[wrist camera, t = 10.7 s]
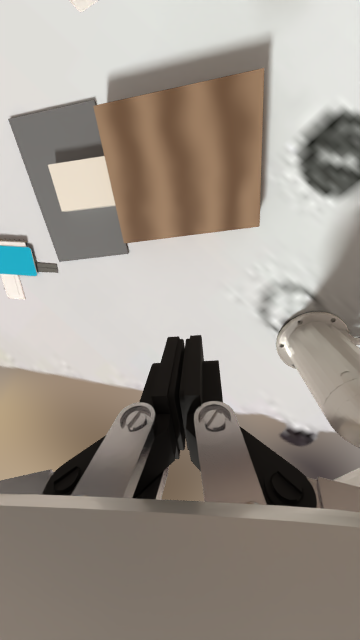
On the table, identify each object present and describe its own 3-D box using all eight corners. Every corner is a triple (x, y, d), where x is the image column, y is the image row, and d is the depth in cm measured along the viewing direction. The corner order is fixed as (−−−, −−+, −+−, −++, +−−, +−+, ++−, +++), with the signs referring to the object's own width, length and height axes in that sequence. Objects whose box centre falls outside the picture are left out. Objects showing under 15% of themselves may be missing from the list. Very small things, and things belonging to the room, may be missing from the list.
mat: (95, 101, 29) (93, 99, 29) (128, 253, 38) (127, 253, 37) (10, 120, 31) (8, 118, 31) (60, 261, 40) (59, 261, 39)
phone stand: (-27, 294, 45) (-35, 296, 44) (-51, 232, 40) (-61, 233, 38) (66, 301, 44) (61, 304, 42) (53, 238, 39) (47, 239, 37)
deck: (256, 86, 27) (264, 67, 24) (253, 225, 34) (259, 226, 30) (106, 118, 30) (93, 105, 26) (131, 240, 37) (123, 243, 33)
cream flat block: (112, 158, 32) (107, 155, 30) (121, 205, 34) (117, 204, 32) (56, 167, 33) (47, 164, 31) (68, 211, 35) (61, 211, 34)
